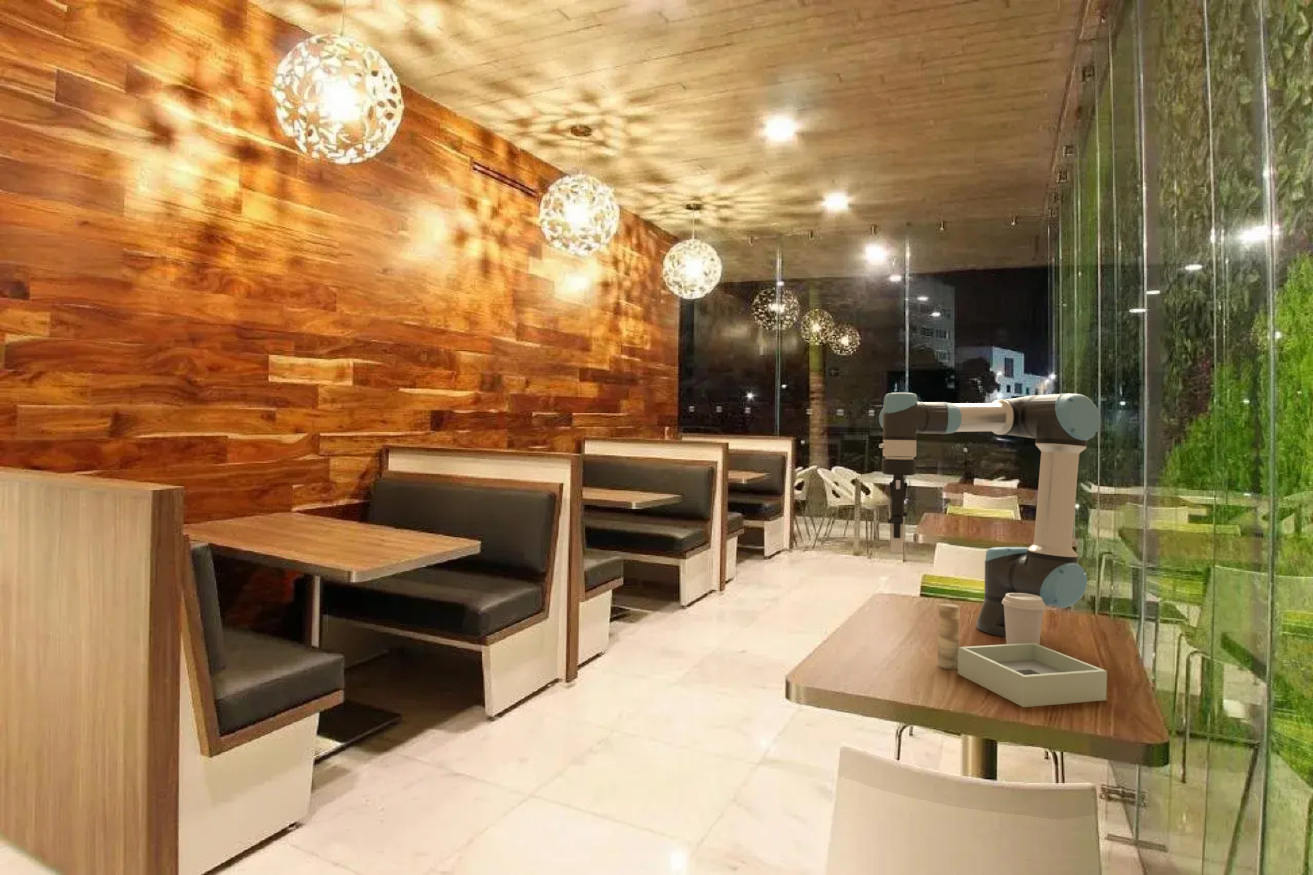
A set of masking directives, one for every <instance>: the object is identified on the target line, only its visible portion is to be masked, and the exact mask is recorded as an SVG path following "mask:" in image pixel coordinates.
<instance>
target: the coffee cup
mask: <svg viewBox="0 0 1313 875" xmlns="http://www.w3.org/2000/svg"><path fill="white" fill-rule="evenodd" d="M1002 604H1003V605H1004V615H1005V630H1006V637H1005V641H1006V644H1020V643H1036V644H1039V645H1040V642H1041V641H1040V640H1041V635H1042V633H1041V632H1042V626H1043V625H1042V624H1043V619H1044V618H1043V616H1044V610H1046V609H1047V605H1046V604H1045V603H1044V602H1043V599H1042V598H1041V597H1039V596H1036V595H1032V594H1025V593H1007V594H1006V595H1005V598H1003V600H1002Z"/></svg>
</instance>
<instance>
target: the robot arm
mask: <svg viewBox="0 0 1313 875" xmlns="http://www.w3.org/2000/svg"><path fill="white" fill-rule="evenodd" d="M878 420H879V425H880V427H881V428H882V442H883V443H880V444H879V447H880V448H882V456H883V457H884V458H882V464H881V466H882V467H881V468H882V470H881V471H882V474H883V475H885V476H886V475H888V476H893V477H892V478H893V479H892V481H890V482H889V491H890V493H889V494H890V500H891V517H890V518H889V519H888V518H887V523H888V524H890V548H889V549H890V552H889V553H900V554H901V553H904V542H905V518H906V517H907V516H908V512H905V501H906V498H907V491H908V482H905V481H906V478H905V476H914V475H916V474H917V473H916V472H917V471H916V468H917V467H916V466H917V464H916V463H917V462H916V460H915V459H914V458H916V457H917V434H932V435H933V434H934V435H935V434H937V435H938V434H940V435H946V434H954V433H961V432H963V433H965V432H967V433H969V432H971V433H972V432H973V433H975V432H992V433H993V434H995V435H997V436H999V435H1003V436H1007V435H1008V436H1014V437H1022V438H1023V437H1024V438H1028V439H1029V438H1030V439H1035V442H1034V443H1035V446H1036V447H1037V448H1038V450H1039V451H1040V452H1041V453H1040V463H1039V477H1038V488H1037V500H1036V512H1035V524H1034V525H1035V527H1034V536H1033V543H1032V544H1031V545H1030V546H1028V547H1026V546H1024V547H1023V546H1001V547H1000V546H997V547H996V546H995V547H990V548H988V549H987V550H986V552H985V560H984V598H983V603H982V606H981V608H980V611H979V615H978V616H977V618H976V629H978V630H979V631H981V632H984V633H985V634H986V633H987V634H991V635H993V636H994V635H995V636H998V637H999V636H1000V637H1003V638H1004V637H1005V638H1006V630H1005V615H1004V605H1003V604H1002V600H1003V598H1005V595H1006V594H1007V593H1025V594H1032V595H1036V596H1039V597H1041V598H1042V599H1043V602H1044V603H1045V605H1046V606H1048V607H1055V608H1065V609H1066V608H1070V607H1071V606H1074V605H1076V604H1077V602H1078V601H1080V600H1081V599H1082V597H1083V596H1084V594H1085V592H1086V589H1087V586H1088V576H1087V573H1086V572H1085V569H1084V568H1083V567H1082V566H1081V565H1080V564H1078V558H1079V554H1077V552H1076V551H1075V550H1074V548H1073V547H1072V546H1073V536H1074V524H1075V522H1074V521H1075V511H1076V510H1075V509H1076V498H1077V485H1078V472H1079V462H1080V461H1079V460H1080V454H1081V452H1083V451H1085V450H1086V449H1087V445H1088V440H1091V439H1092V438H1094V437H1095V436H1096V433H1098V432H1099V429H1100V424H1101V417H1100V412H1099V409H1098V407H1097V405H1096V404H1095V403H1094V402H1093V400H1092V399H1091V398H1089V397H1088V396H1086V395H1084V394H1081V393H1070V392H1067V393H1065V392H1063V393H1056V394H1055V393H1053V394H1035V395H1034V394H1033V395H1027V396H1021V397H1016V398H1015V397H1014V398H1006V399H1005V398H1004V399H1001V398H1000V399H996V400H993V401H992V402H985V403H984V402H983V403H981V402H977V403H976V402H975V403H971V402H970V403H969V402H968V403H967V402H966V403H963V402H962V403H961V402H960V403H952V402H946V401H942V402H941V401H940V402H939V401H938V402H937V401H936V402H935V401H934V402H932V401H931V402H930V401H929V402H927V401H925V402H923V401H918V395H917V394H916V393H913V392H891V393H890V392H889V393H886V394H885V396H884V398H883V408H882V409H881V411H880V412H879V416H878Z"/></svg>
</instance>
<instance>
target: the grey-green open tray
mask: <svg viewBox="0 0 1313 875" xmlns="http://www.w3.org/2000/svg"><path fill="white" fill-rule="evenodd" d="M957 675H958V676H959V675H960V676H961V677H964V678H965V679H968V680H969V681H971V682H973V683H974V684H977V685H979V686H981V687H982V688H985V689H986V690H989V691H991V692H993V693H994V694H997V695H999V696H1000V697H1002V698H1004V699H1006V700H1008V701H1009V702H1010V701H1011V702H1012V703H1014V704H1016V705H1018V706H1020V707H1022V708H1029V707H1030V708H1032V707H1042V706H1053V705H1056V706H1057V705H1066V704H1079V703H1089V702H1100V701H1107V688H1108V687H1107V684H1108V670H1105V669H1103V668H1100V667H1098V666H1096V665H1093V664H1091V663H1087V662H1085V661H1082V660H1080V659H1077V658H1074V657H1073V656H1069V655H1067V654H1064V653H1062V652H1059V651H1056V650H1054V649H1051V648H1049V647H1046V646H1044V645H1041V644H1040V643H1039V644H1036V643H1020V644H1005V643H1002V644H990V645H989V644H988V645H973V646H972V645H971V646H959V651H958V669H957Z"/></svg>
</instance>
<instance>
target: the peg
mask: <svg viewBox="0 0 1313 875" xmlns="http://www.w3.org/2000/svg"><path fill="white" fill-rule="evenodd" d="M960 611H961V610H960V606H959V605H957V604H953V603H939V605H938V629H937V630H938V634H937V635H938V638H937V640H938V641H937V667H939V668H941V669H944V670H951V671H952V670H953V671H954V670H958V654H959V647H960V644H959V643H960Z"/></svg>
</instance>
